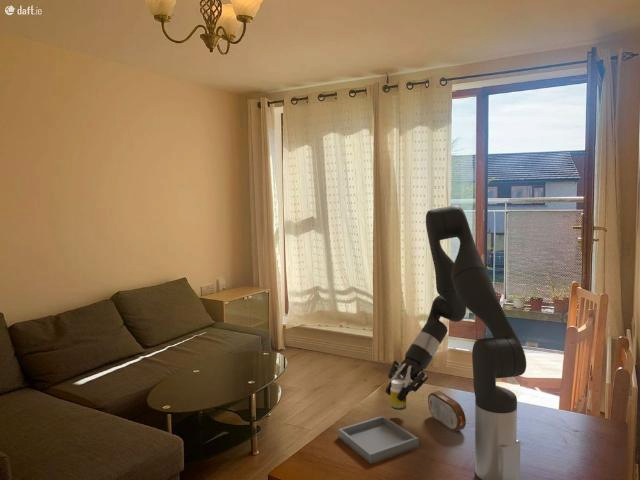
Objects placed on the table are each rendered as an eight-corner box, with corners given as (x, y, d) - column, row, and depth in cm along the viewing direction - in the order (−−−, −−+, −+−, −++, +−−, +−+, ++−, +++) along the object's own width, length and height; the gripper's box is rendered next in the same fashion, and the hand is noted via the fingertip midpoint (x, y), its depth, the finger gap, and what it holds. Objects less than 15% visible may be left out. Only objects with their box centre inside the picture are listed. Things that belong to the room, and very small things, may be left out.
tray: (418, 447, 126) (418, 438, 126) (370, 464, 119) (370, 454, 119) (383, 423, 140) (383, 415, 140) (338, 437, 133) (338, 429, 132)
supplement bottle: (406, 412, 141) (405, 384, 140) (390, 411, 142) (389, 384, 141) (406, 405, 145) (406, 378, 145) (391, 404, 146) (390, 378, 146)
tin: (466, 434, 132) (466, 405, 132) (457, 437, 131) (457, 407, 130) (434, 412, 146) (434, 386, 146) (426, 414, 145) (426, 388, 144)
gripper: (400, 338, 152) (371, 383, 147) (432, 348, 140) (402, 398, 135) (413, 351, 155) (385, 395, 150) (445, 362, 143) (416, 411, 138)
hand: (393, 396), depth 142 cm, fingers closed on supplement bottle, 4 cm apart
